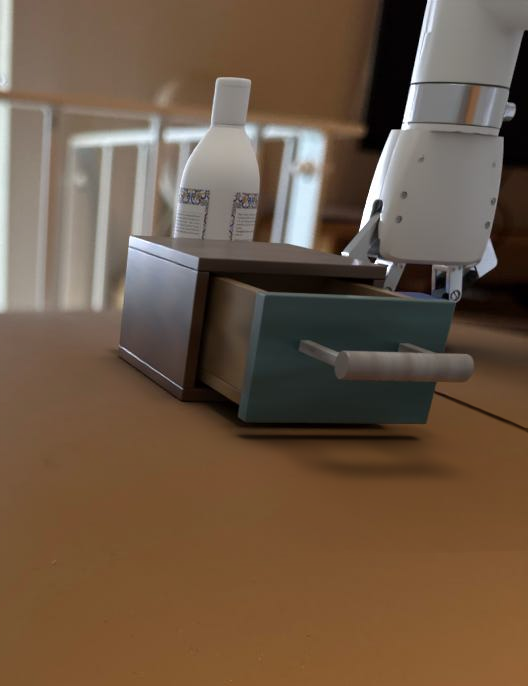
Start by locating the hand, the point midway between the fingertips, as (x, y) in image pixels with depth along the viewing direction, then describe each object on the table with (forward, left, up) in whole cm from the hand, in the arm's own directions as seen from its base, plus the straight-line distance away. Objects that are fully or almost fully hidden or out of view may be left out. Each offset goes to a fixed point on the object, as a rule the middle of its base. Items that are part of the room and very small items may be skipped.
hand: (401, 343), depth 86 cm
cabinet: (+22, +14, 0) cm, 26 cm away
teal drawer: (+22, +26, +1) cm, 34 cm away
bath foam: (+16, -8, -1) cm, 18 cm away
